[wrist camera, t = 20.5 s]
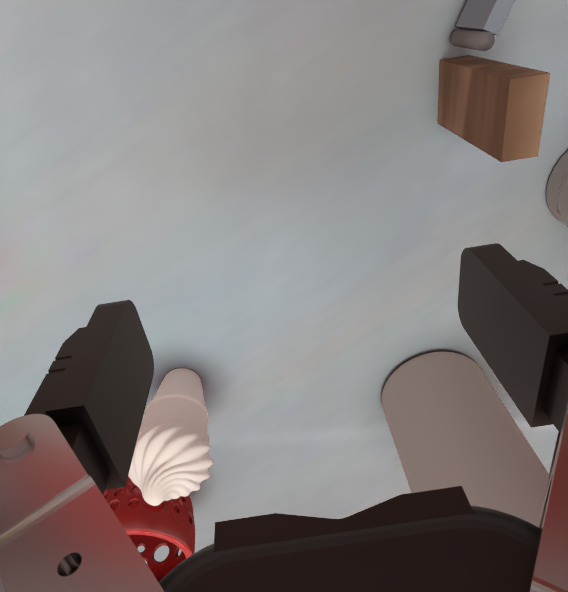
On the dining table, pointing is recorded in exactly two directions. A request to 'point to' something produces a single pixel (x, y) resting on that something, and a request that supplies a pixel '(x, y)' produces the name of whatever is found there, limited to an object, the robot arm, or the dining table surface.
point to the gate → (480, 23)
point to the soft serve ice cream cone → (173, 440)
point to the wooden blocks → (493, 105)
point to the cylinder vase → (461, 436)
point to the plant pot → (155, 525)
